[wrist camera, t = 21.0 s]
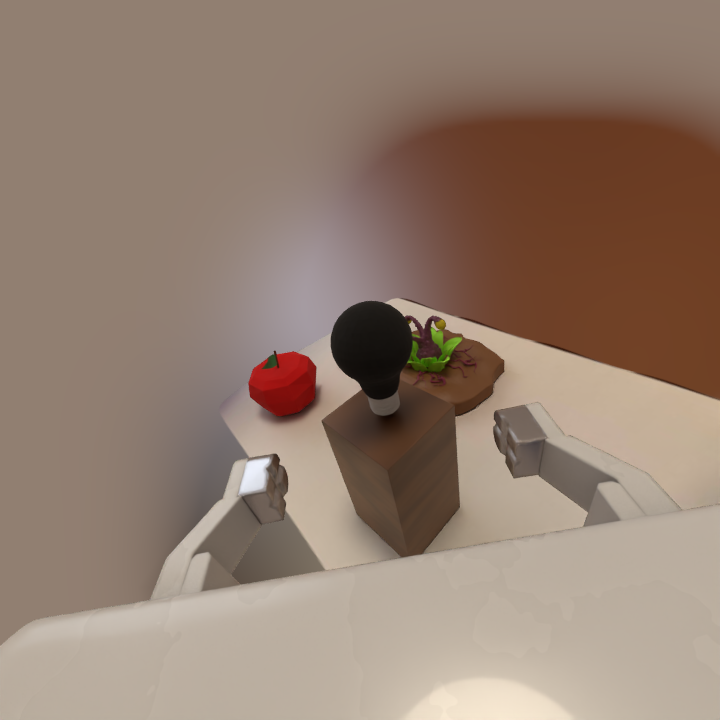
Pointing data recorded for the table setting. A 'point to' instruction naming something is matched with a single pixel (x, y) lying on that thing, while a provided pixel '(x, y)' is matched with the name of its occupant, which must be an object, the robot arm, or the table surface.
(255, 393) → the apple
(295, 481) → the table surface
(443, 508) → the walnut block
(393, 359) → the light bulb
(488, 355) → the plant
